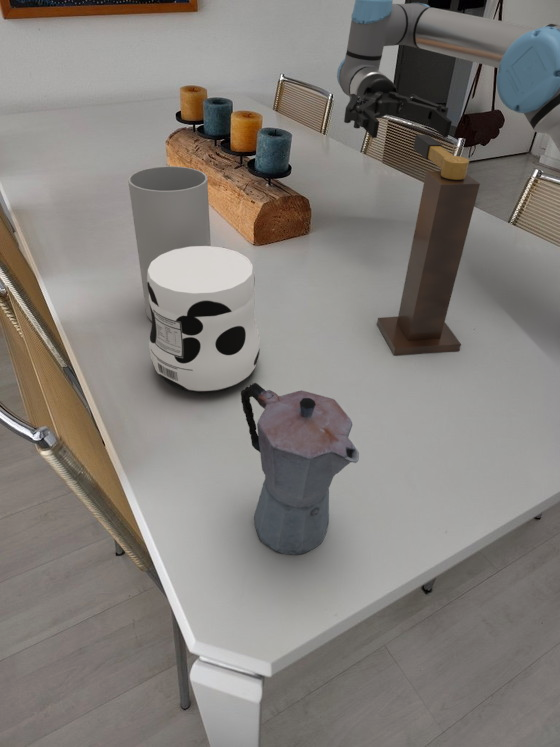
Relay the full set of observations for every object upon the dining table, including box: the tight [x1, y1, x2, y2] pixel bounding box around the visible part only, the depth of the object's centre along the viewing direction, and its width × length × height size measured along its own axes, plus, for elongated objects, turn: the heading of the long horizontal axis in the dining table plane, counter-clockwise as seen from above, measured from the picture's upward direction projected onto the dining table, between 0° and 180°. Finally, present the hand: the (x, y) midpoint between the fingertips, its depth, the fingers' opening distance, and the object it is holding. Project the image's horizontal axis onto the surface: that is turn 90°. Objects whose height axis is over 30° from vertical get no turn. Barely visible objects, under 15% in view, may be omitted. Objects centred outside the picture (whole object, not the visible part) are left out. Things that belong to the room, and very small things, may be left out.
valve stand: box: [376, 170, 481, 356], centre depth 90 cm, size 12×10×29 cm
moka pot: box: [240, 382, 360, 556], centre depth 59 cm, size 10×15×20 cm, turn 53°
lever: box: [413, 134, 470, 180], centre depth 85 cm, size 4×16×2 cm, turn 9°
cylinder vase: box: [127, 165, 212, 322], centre depth 95 cm, size 12×12×25 cm
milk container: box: [147, 245, 261, 393], centre depth 83 cm, size 17×17×18 cm
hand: (412, 129), depth 96 cm, fingers open, 13 cm apart
